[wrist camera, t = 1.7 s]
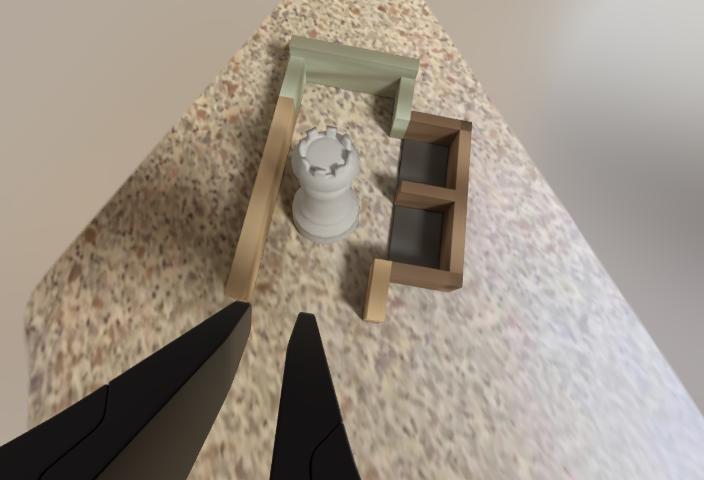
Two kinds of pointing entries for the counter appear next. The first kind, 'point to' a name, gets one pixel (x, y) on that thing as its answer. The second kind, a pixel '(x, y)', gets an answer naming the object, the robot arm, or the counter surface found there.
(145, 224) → the counter surface
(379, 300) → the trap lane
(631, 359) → the counter surface
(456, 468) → the counter surface
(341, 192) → the rook chess piece
